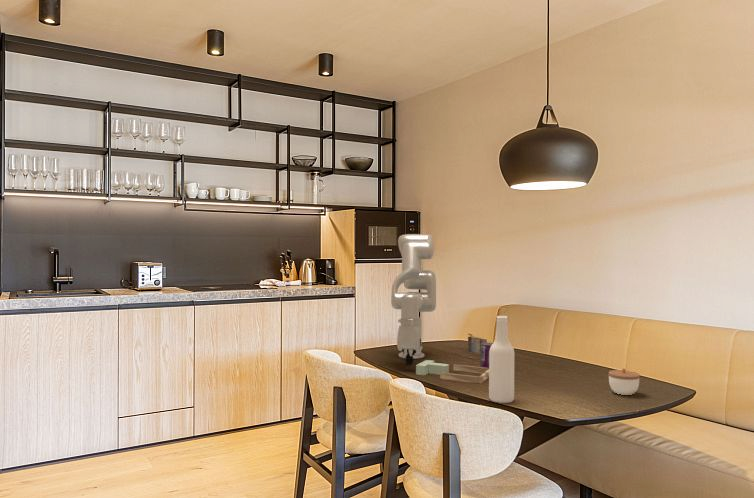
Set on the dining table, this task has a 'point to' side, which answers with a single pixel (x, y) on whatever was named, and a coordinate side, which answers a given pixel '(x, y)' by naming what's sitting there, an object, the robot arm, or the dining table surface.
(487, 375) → the oak frame
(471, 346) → the ruin model on sheet
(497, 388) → the alcohol
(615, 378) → the lidded jar
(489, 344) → the beverage can
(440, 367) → the tee block
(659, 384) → the dining table surface
